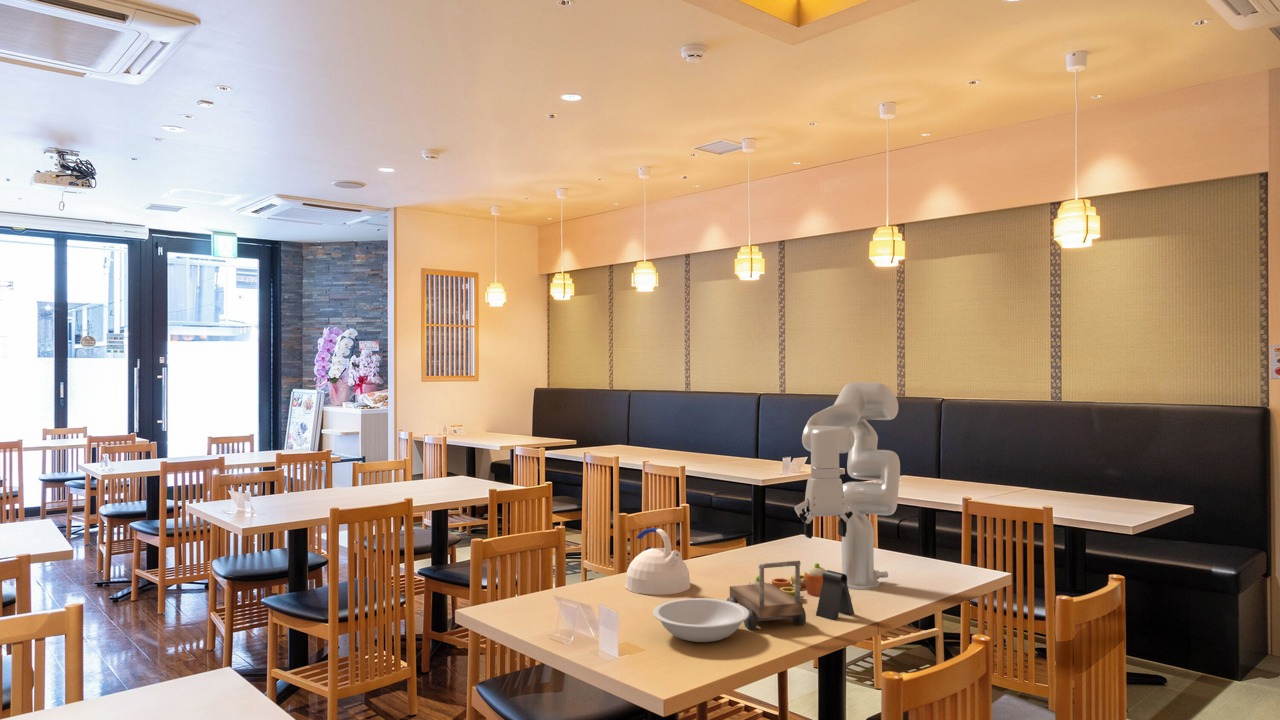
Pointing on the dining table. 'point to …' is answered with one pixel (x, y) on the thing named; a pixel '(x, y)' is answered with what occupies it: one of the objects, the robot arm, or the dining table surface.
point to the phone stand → (834, 596)
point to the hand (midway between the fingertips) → (825, 536)
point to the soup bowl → (701, 618)
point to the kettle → (658, 569)
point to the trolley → (769, 599)
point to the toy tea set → (801, 582)
